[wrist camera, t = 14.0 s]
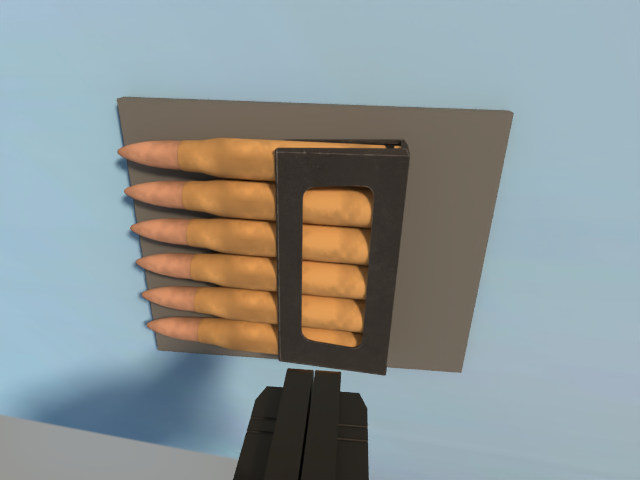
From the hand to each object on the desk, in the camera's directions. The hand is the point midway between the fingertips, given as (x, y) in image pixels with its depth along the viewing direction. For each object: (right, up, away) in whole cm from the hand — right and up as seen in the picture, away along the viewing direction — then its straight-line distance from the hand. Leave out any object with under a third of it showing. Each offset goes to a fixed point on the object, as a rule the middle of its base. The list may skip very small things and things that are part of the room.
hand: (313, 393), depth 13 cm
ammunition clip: (+4, +3, +7) cm, 8 cm away
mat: (0, +4, +9) cm, 10 cm away
